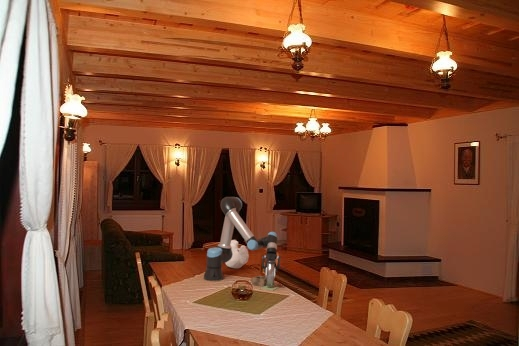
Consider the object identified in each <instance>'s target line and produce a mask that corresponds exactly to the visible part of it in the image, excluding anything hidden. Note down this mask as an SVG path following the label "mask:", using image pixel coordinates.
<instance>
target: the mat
mask: <svg viewBox="0 0 519 346" xmlns="http://www.w3.org/2000/svg"><path fill="white" fill-rule="evenodd" d="M260 289H261V290H266V291H276V290H278V289H280V286H275V285H274V286H272V287H270V286H264V287H262V286H260Z"/></svg>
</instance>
